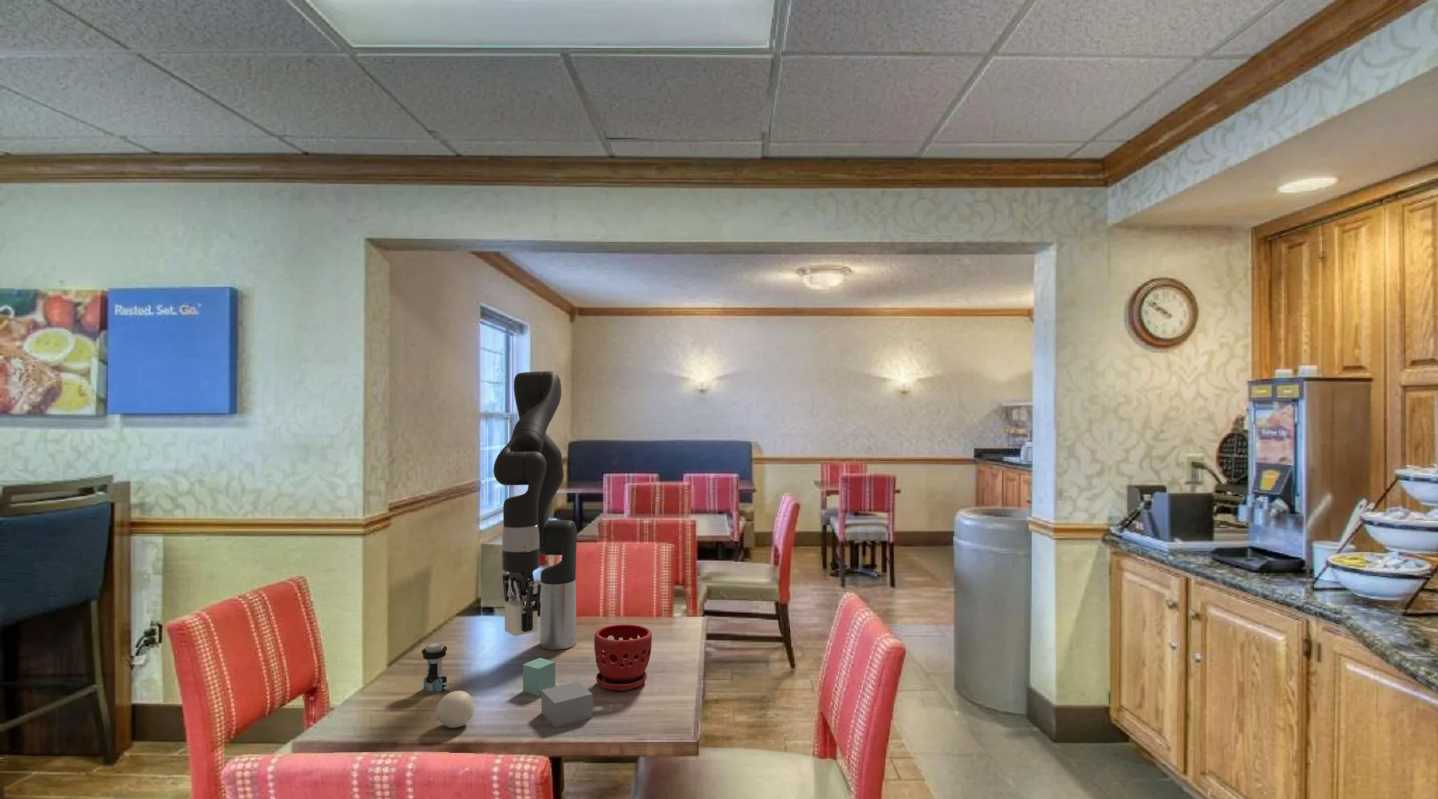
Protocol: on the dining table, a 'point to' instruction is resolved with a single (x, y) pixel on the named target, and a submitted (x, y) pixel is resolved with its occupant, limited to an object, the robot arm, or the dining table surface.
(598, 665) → the plant pot
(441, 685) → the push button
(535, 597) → the robot arm
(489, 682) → the dining table surface
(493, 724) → the dining table surface
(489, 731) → the dining table surface
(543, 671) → the teal block
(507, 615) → the cream block
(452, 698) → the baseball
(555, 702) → the slate base block
